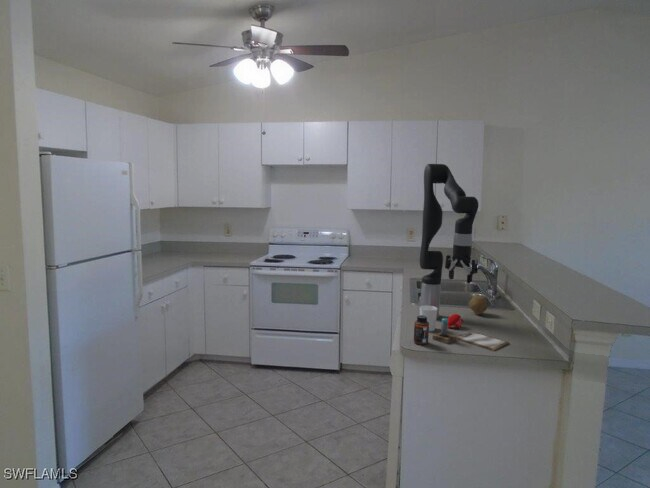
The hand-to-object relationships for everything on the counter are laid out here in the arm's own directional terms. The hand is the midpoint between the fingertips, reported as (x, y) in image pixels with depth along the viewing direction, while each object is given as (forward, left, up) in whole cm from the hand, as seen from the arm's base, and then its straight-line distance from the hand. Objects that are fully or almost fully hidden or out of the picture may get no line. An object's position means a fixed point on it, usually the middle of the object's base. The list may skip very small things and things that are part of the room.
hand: (460, 280), depth 189 cm
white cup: (-14, -2, -25) cm, 29 cm away
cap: (-8, +10, -25) cm, 28 cm away
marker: (-1, -8, -25) cm, 26 cm away
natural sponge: (-12, +38, -25) cm, 47 cm away
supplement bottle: (-5, -19, -25) cm, 32 cm away
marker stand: (-1, -8, -25) cm, 26 cm away
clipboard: (+10, +3, -25) cm, 27 cm away
